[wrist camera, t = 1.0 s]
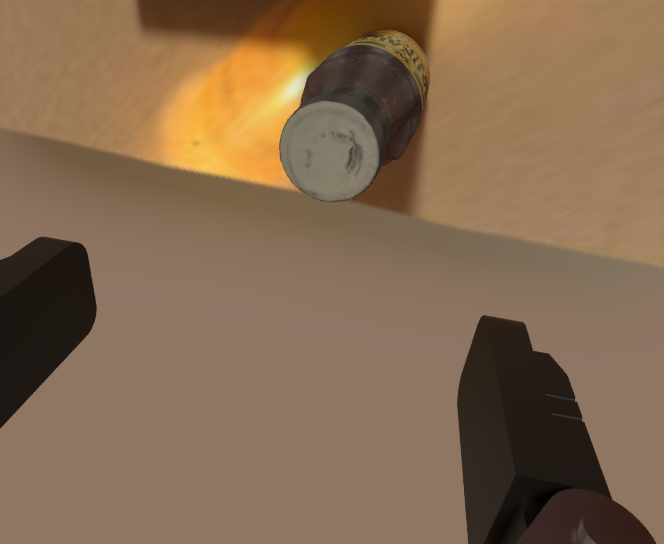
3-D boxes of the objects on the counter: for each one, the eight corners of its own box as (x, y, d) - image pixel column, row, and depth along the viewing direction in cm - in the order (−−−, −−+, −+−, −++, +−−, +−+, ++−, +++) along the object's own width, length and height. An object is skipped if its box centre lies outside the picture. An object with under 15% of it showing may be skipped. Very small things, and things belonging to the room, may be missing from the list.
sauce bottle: (448, 68, 35) (462, 156, 18) (389, 136, 38) (354, 265, 21) (377, 2, 34) (321, 32, 17) (322, 78, 37) (228, 167, 20)
